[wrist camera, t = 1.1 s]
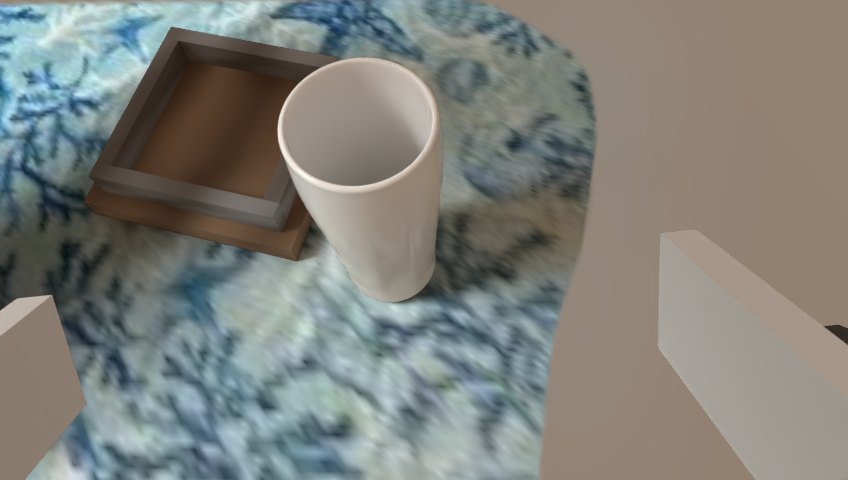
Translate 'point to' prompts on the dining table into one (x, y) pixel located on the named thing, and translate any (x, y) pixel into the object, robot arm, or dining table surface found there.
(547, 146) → the dining table surface
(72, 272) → the dining table surface
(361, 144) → the white cup
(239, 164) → the collar board
